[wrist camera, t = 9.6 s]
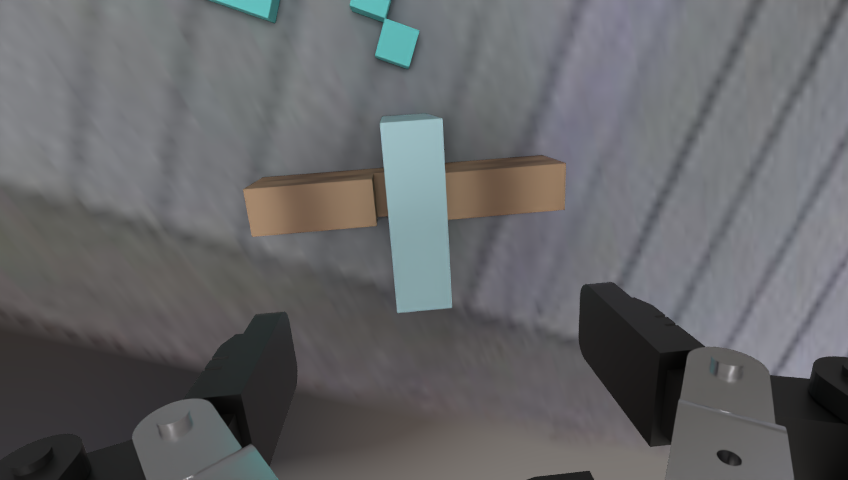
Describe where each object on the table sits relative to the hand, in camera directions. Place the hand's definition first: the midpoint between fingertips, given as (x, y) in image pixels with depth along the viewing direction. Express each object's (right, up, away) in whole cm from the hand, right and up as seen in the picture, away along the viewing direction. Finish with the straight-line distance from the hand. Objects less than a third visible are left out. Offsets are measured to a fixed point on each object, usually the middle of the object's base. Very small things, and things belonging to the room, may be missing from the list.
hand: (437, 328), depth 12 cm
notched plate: (-1, +6, +20) cm, 21 cm away
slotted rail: (-2, +6, +20) cm, 21 cm away
